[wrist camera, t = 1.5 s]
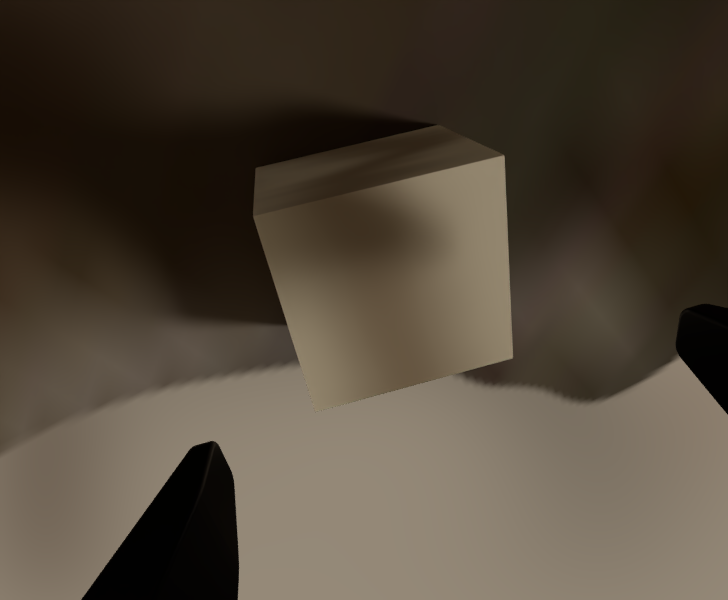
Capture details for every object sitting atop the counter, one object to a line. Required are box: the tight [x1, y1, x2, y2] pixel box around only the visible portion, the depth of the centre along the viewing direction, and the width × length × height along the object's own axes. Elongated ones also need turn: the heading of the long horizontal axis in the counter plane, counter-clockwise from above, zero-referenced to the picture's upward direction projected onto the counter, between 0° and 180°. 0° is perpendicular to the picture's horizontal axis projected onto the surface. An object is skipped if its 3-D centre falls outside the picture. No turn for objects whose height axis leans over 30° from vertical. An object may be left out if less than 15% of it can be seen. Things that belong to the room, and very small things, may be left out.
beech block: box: [253, 125, 513, 412], centre depth 15 cm, size 6×6×5 cm
